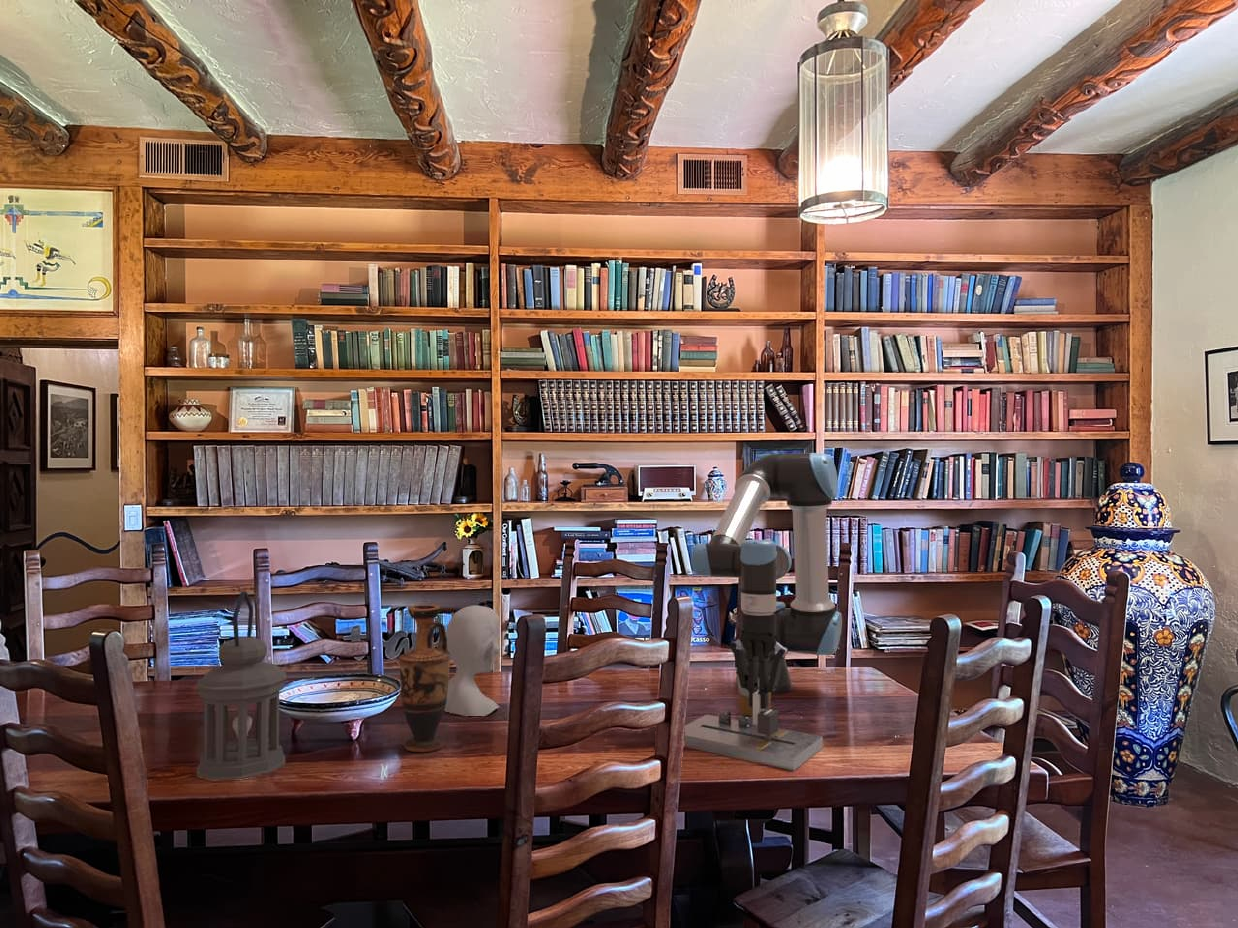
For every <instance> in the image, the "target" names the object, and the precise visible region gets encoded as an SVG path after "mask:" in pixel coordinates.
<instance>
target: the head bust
mask: <svg viewBox="0 0 1238 928" xmlns="http://www.w3.org/2000/svg"><path fill="white" fill-rule="evenodd" d="M445 632H446V637H447V648H448V651H449V653H450V655H451V656H450V660H451V661H453V663H454V664H455V667H456V671H455V674H454V676H453V677H451V678H449V682H448V694H447V701H446V706H445V710H444V711H445V712H444V713H446V712H449V713H448V714H454V715H459V716H464V717H468V716H482V717H485V716H488V715H490V714H491V713H493V712H494V711H495V710H496V709H499V708H500V706H499V705H498V704H497V702H496V701H494V700H493V699H491V698H489V697H488V696H485V695H484V694H483V693H482V692H481V690H480V689H479V687H478V686H477V684H476V682H475V678H474V677H475V675H476V674H478V673H490V672H492V670H493V669H494V663H495V661H496V658H497V655H498V654H499V653H500V651H501V648H500V645H499V644H498V642H499V638H500V617H499V615H498V614H497V613H496V611H495V610H494V609H492V608H490V607H488V606H482V605H470V606H466V607H463V608H461V609H459V610H457V611H456V612H455V613H454V614H453V615H452V616H451V618H450V620H449V622H448V625H447V628H446V631H445Z"/></svg>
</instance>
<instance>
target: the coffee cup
mask: <svg viewBox="0 0 1238 928" xmlns="http://www.w3.org/2000/svg"><path fill="white" fill-rule="evenodd" d="M746 665H747V670H748V660H746ZM771 670H772V668H771V666H770V663H769V679H770V674H771ZM735 673H736V677H737V680H738V688H737V697H738V698H737V699H738V712H739V715H750V716H751V723H753V707H750V705H749V691H748V690H747V689H745V688H742V687H741V686H740V681H739V676H738V671H737V670H736V672H735ZM758 687H759V661H758ZM757 691H759V689H758V690H757ZM771 697H772V694H771V693H768V708H766V709H769V710H771V702H772V701H771V700H772V699H771ZM764 710H765V709H764ZM739 715H738V716H739Z"/></svg>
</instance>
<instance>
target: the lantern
mask: <svg viewBox="0 0 1238 928" xmlns="http://www.w3.org/2000/svg"><path fill="white" fill-rule="evenodd" d="M243 600H244V601H245V602H246V606H247V608H248V618H247V619H248V622H247V633H246V634H247V635H246V636H245V637H240V636H239V621H238V618H239V613H240V611H241V610H240V609H241V607H242V603H243ZM253 617H254V606H253V604H252V601H251V599H250V597H249V595H248V592H247V591H245V590H243V591H241V592H240V593H239V596H238V600H237V603H236V605H235V608H234V611H233V615H232V624H233V625H232V626H233V627H232V628H233V638H234V639H230V640H228V641H225V642H223V643H222V644H221V646H220V647H219V649H218V659H219V661H220V662H221V663H222V664H223V665H220V666H218V667H214V668H212V669H211V670H209V671H207V672H205V673H204V675H203V677H202V678H198V679H197V682H196V683H197V684H196V688H197V689H199V697H200V698H202V699H204V719H203V720H204V726H203V727H204V729H203V731H204V734H203V735H204V738H203V740H204V741H203V742H204V743H203V745H204V746H203V754H202V755H200V759H199V764H198V766H197V767H196V768H197V769H196V775H197V776H201V777H204V778H208V779H211V780H234V779H235V780H236V779H245V778H250V777H254V776H258V775H262V774H266V773H270V772H272V771H274V770H275V769H277V768H279V767H280V768H282V767H283V766H285V765H286V764H287V763H286V755H285V753H284V752H283V745H281V744H280V691H281V690H283V689H285V680H287V679H288V677H287V672H286V671H285V670H281V668H280V666H278V665H276V664H274V663H271V662H264V661H263V660H265V658H266V656H267V654H268V650H267V649H268V645H267V643H266V642H265V641H264V640H263V639H261V638H255V637H252V632H253V631H252V630H253V621H254V620H253ZM250 704H256V709H257V710H256V738H249V739H248V736H249V735H248V733H249V731H250V729H252V728H251V727H252V724H253V719H252V717H251V716H250V715H248V705H250ZM230 706H238V707H237V711H238V712H237V716H235V718H234V719H233V721H232V728H233V730H234V732H235V734H236V738H237V740H234V741H230V742H229V741H228V712H229V711H228V709H229V708H228V707H230ZM280 768H279V769H280ZM277 770H278V769H277ZM275 771H276V770H275ZM275 771H274V772H275ZM272 773H273V772H272ZM270 774H271V773H270ZM262 776H263V775H262ZM258 777H259V776H258ZM254 778H255V777H254ZM250 779H251V778H250Z"/></svg>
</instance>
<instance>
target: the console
mask: <svg viewBox="0 0 1238 928" xmlns="http://www.w3.org/2000/svg"><path fill="white" fill-rule="evenodd" d="M684 726H685V747H684V748H688V749H691V750H692V749H693V750H698V751H702V752H706V753H710V754H711V753H712V754H716V755H721V756H725V757H730V758H734V759H740V760H744V761H749V762H752V763H757V764H762V765H766V766H770V767H771V766H772V767H775V768H780V769H786V770H790V771H796V770H797V769H798V768H800V767H801V766H802V765H803V764H804V763H806V762H807V761H809V760H810V759H811V758H812V757H813V756H815V754H817V753H818V752H819V751H821V750H822V749H823V745H824V744H823V741H824V740H823V736H822V735H818V734H817V735H816V734H813V733H807V732H806V733H805V732H802V731H796V730H792V729H785V728H782V727H781V728H780V727H778V731H776V732H775V733H773V734H772V735H771V740H766V739H765V734H760V733H758V725H755V724H753V723H751V716H750V715H738V719H732V712H731V711H727V710H721V711H718V716H717V715H711V714H705V715H703V716H700V717H699V718H696V719H695V720H693V721H692V722H689V723H687V724H685V725H684Z"/></svg>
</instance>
